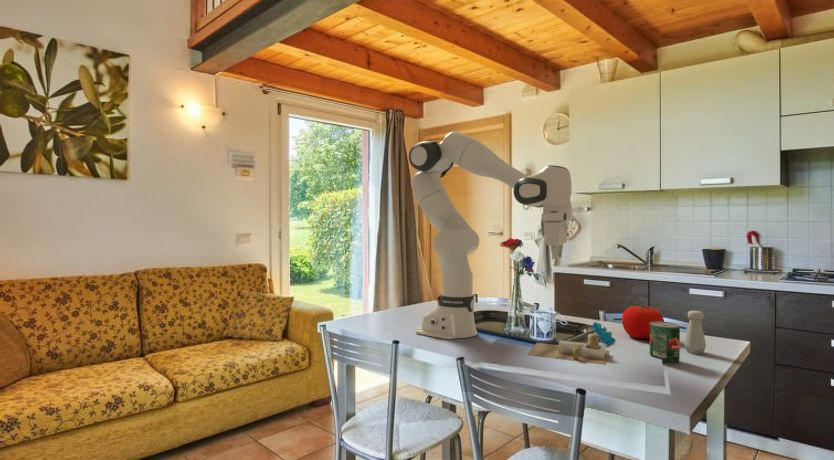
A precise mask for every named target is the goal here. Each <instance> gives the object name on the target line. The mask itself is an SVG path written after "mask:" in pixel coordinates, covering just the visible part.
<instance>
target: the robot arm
mask: <svg viewBox="0 0 834 460" xmlns="http://www.w3.org/2000/svg"><path fill="white" fill-rule="evenodd" d="M408 161H409V164H410V165H411V166H412V168H414V169H415V170H417V172H416V173H414V174H413V176H412V177H411V180H410V186H411V189H412V192H413V195H414V198H415V199H416V201H417V204H418V206H419V207H420V209H421V211H422V212H423V214H424V216H425V218H426V220H427V221H428V223H429V224H430V225H431V226H432V227H434V228H435V230H436V231H437V233H436V234H435V235H434V238H433V242H432V246H433V250H434V251H435V253H436V254H437V256H438V260H439V264H440V269H441V285H442V286H441V289H442V290H441V291H442V293H441V294H440V295H438V296H437V297H436V298H435V301H437V305H436V306H434V307H432V309H430V310H429V311H427V312H426V313H425V314H423V317H422V321H421V326H418V327H417V328H416V329H415V334H417V335H421V336H428V337H435V338H439V339H444V340H454V339H455V340H456V339H463V338H464V339H465V338H466V339H467V338H471V337H474V336H477V335H478V330H477V328H476V323H475V317H474V310H475V309H474V308H475V297H474V295H473V293H474V292H473V289H474V287H473V285H474V284H473V283H474V282H473V281H474V279H473V278H474V277H473V276H474V275H473V272H472V271H471V268H470V263H469V258H468V256H469V255H472V254H473V253H474V252H475V251H476V250H477V249H478V247H479V245H480V237H479V233H477V232H476V231H475V230H474V229H473V228H472V227H471V225H470V224H469V223H468V222H467V221H466V219H465V218H464V217H463V215H461V213H460V211H458V209H457V208H456V207H455V205H454V204H453V201H452V199H451V198H450V197H449V195H448V193H447V192H446V189H445V188H444V186H443V184H442V182H441V180H440V179H441V178H444V177H445V176H446V175H447V173H448V172H449V171H450V170H452V167H453V166H454V164H455V165H457V166H458V167H460V168H461V169H463V170H464V171H466V172H469V173H470V174H473V175H476V176H480V177H485V178H491V179H494V180H496V181H499V182H501V183H503V184H505V185H507V186H509V187H511V188H512V189H513V197H514V198H515V200H516V201H517V202H518V203H519V204H520V205H523V206H526V207H527V206H529V207H534V208H542V217H541V220H542V222H544V223H543V225H544V226H543V230H544V241H545V245H546V246H547V247H548V246H550V250H551V258H552V260H558V259H559V258H561V259H562V257H563V248H564V244H565V243H567V242H568V222H571V221H572V202H571V197H572V192H573V191H572V176H571V173H570V171H569V170H568V168H566V167H564V166H560V165H554V164H553V165H550V164H548V165H546V166H544V167H543V168H542V169H541V170H539V171H537V172H535V173H533V174H531V175H527V174H526V173H524V172H522V171H521V170H519V169H516V168H515V167H513V166H511V165H510V164H508V163H507V162H505V160H503V159H502V158H501V157H500V156H498V155H497V154H496V153H495V152H494V151H493V150H491V149H490V148H489V147H488V146H486V145H485V144H484V143H482V142H481V141H480V140H477V138H475V137H472V136H470V135H468V134H466V133H463V132H459V131H455V130H454V131H450V132H449V133H447V134H446V135H445V137H444V138H443V139H442V141H441V142H437V141H436V140H435V141H434V140H433V141H432V140H431V141H420V142H418V143H416V144H414V145H413V146H412V147H410V150H409V152H408Z"/></svg>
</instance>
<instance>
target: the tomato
mask: <svg viewBox="0 0 834 460" xmlns="http://www.w3.org/2000/svg"><path fill="white" fill-rule="evenodd" d="M655 321H662V322H665V319H664V317H663V315H662V314H661V312H660V311H659V310H658V309H656V308H654V307H652V306H648V305H644V304H642V305H634V306H628V308H625V310H624V311H623V314H622V315H621V324H622V327H623V329H624V331H625V333H627V335H629V337H631V338H634V339H639V340H642V339H644V340H645V339H650V322H655Z"/></svg>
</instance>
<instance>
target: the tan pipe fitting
mask: <svg viewBox="0 0 834 460" xmlns="http://www.w3.org/2000/svg"><path fill="white" fill-rule="evenodd" d="M558 345H559V351H558V353H567V354H573V349H579V355H581V357H587V358H596V359H604V358H605V354H606V350H607V346H606V344H604V345H603V344H599V349H592V348H588V342H587V343H585V342H579V341H570V340H559V341H558Z"/></svg>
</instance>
